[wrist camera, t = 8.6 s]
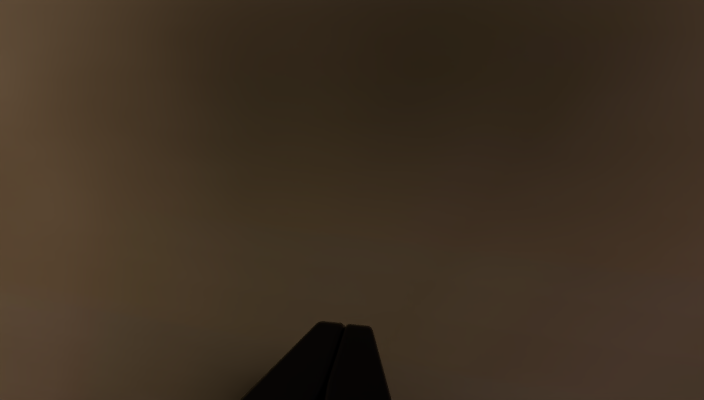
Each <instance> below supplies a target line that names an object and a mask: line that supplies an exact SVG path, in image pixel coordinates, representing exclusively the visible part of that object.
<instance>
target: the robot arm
mask: <svg viewBox="0 0 704 400" xmlns="http://www.w3.org/2000/svg"><path fill="white" fill-rule="evenodd" d="M241 400H391V396H390V393H389V389H388V385H387V382H386V378H385V374H384V370H383V367H382V363H381V359H380V356H379V352H378V348H377V344H376V341H375V337H374V333H373V330H372V328H371V327H370V326H363V325H354V324H348V325H347V326H346V327H345V326H344V325H343V324H342V323H335V322H325V321H321V322H318V323H317V324H316V325H315V326H314V327H313V328H312V329H311V330H310V331H309V332H308V333H307V334H306V335H305V336H304V337H303V338H302V339H301V340H300V341H299V342H298V343H297V344H296V345H295V346H294V347H293V348H292V349H291V350H290V351H289V352H288V353H287V354H286V355H285V356H284V357H283V358H282V359H281V360H280V361H279V362H278V363H277V364H276V365H275V366H274V367H273V368H272V369H271V370H270V371H269V372H268V373H267V374H266V375H265V376H264V377H263V378H262V379H261V380H260V381H259V382H258V383H257V384H256V385H255V386H254V387H253V388H252V389H251V390H250V391H249V392H248V393H247V394H246V395H245V396H244V397H243V398H242V399H241Z"/></svg>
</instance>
